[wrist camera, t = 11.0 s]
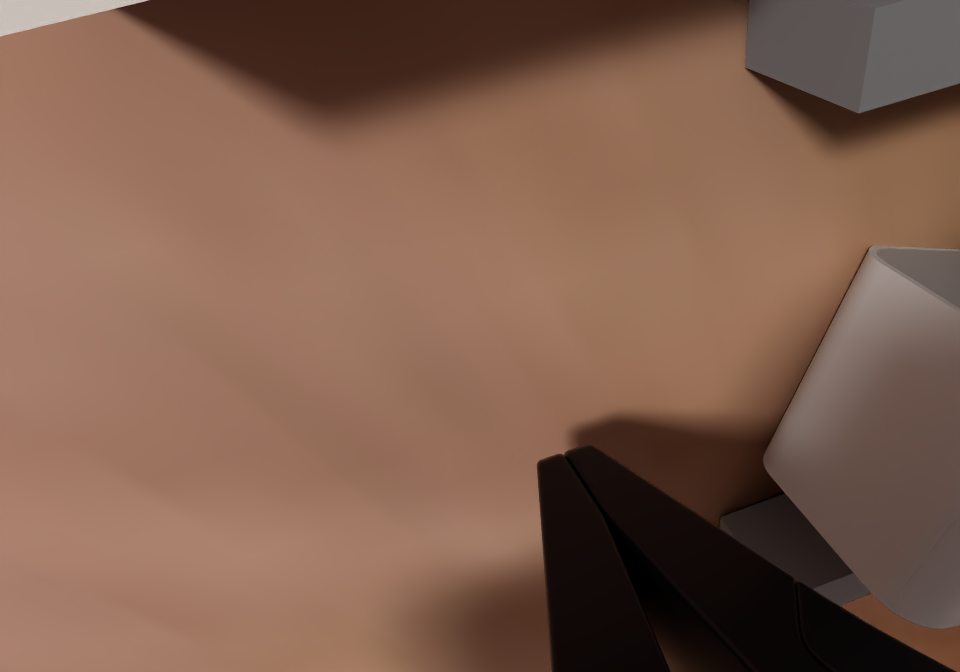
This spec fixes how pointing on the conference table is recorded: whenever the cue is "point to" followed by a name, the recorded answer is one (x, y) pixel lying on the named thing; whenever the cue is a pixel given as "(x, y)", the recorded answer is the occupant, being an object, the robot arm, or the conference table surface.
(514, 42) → the conference table surface
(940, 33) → the bracket
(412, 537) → the conference table surface
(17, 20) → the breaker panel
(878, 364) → the usb wall charger
